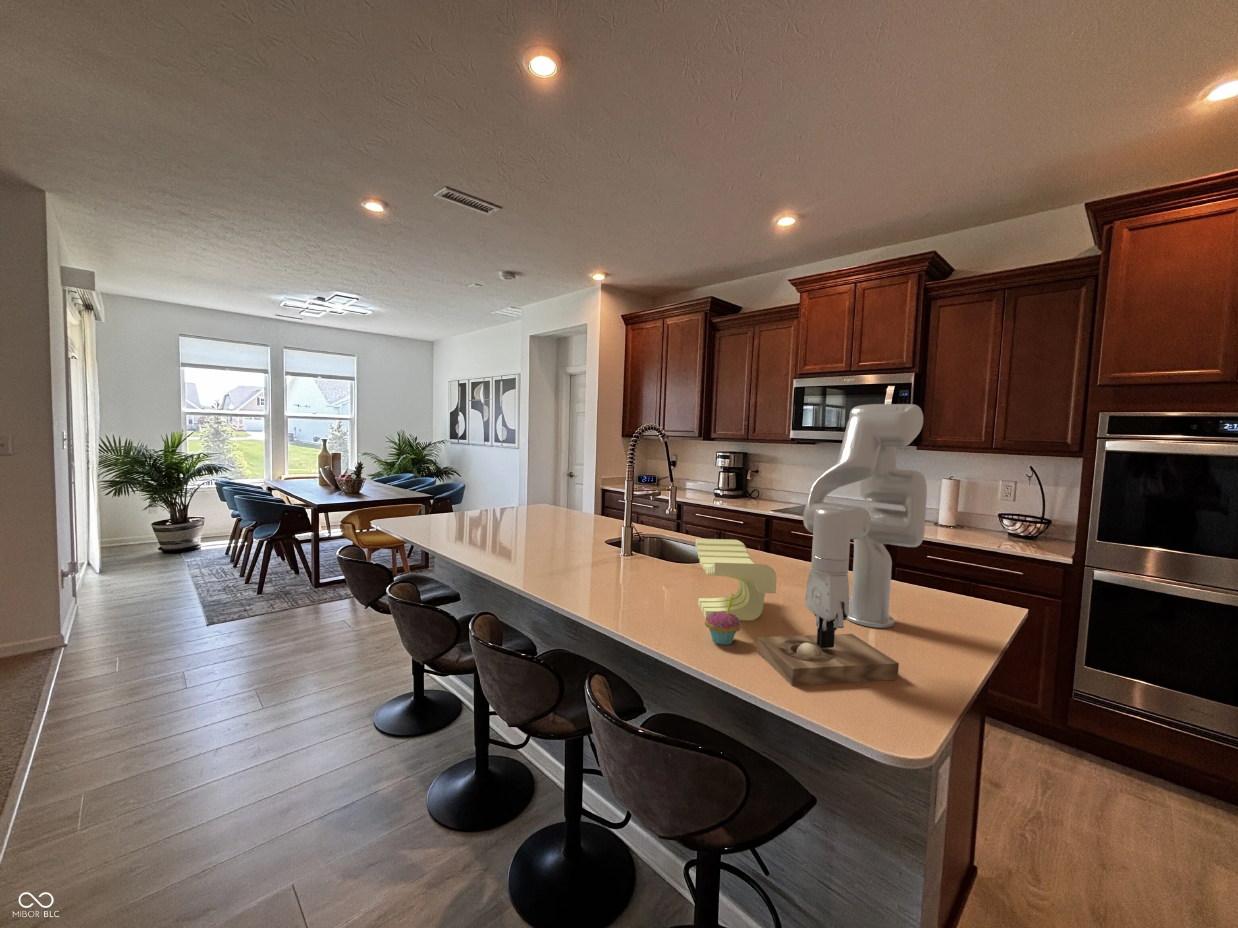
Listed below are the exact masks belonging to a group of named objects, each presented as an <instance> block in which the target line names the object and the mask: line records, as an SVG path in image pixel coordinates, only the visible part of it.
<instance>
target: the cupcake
mask: <svg viewBox="0 0 1238 928" xmlns="http://www.w3.org/2000/svg"><path fill="white" fill-rule="evenodd" d="M732 595H734V593H733V592H732V593H731V595H730V599H729V604H728V609H727V612H726V611H720V612H713V613H711V614H709V615H708V616H707V617H706V618H705V621H704V626H705V627H706V628H708V629H709V633H710V636H711V640H712V642H713V643H716V644H718V645H724V646H726V645H730V644H732V643H733V640H734V638H735V635H736V633H737V632H739V631H740V629H741V627H742V625H741V622H742V620H740V619H739V618H737V617H736V616H735V615H733V614H732V613H730V608H731V603H732V598H733V596H732Z"/></svg>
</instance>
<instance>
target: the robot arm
mask: <svg viewBox="0 0 1238 928" xmlns="http://www.w3.org/2000/svg"><path fill="white" fill-rule="evenodd" d="M848 418H849V419H848V421H847V423H846V428H845V431H844V435H843V438H842V443H841V446H840V450H839V454H838V459H837V462H836V463H835V464H834V465H832V466H831V467H829V468H828V469H826V471H824V472H823V473H822V474H821V475H820V476H819V477H818V478H817V479H816V480H815V481H814V483H813V484H812V486H811V487H810V490H809V493H808V494H807V499H806V502H805V506H804V511H803V517H802V519H803V526H804V527H805V529H806V530H807V531H808V532H810V533H812V548H811V550H812V551H811V566H810V568H809V572H808V576H807V582H806V583H807V584H806V590H805V599H804V600H805V601H804V602H805V603H804V605H805V607H806V608H807V609H808V610H809V611H810V612H811V613H812V614H813V615H814V616H815V623H816V627H817V628H816V629H817V630H816V635H817V645H818V646H820V647H821V648H833V647H834V636H835V634H836V633H835V632H836V631H837V629H844V628H845V625H844V624H845V623H844V621H846V620H847V621H849V622H852V623H854V624H857V625H860V626H864V627H871V628H875V629H877V628H881V629H886V628H891V627H893V626H895V618H894V617H893V616H891V615H889V614H890V613H889V611H890V599H891V597H890V595H891V581H892V567H893V561H892V556H891V554H890V552H889V551H888V550H887V549H886V547H885V545H892V546H899V547H906V548H917V547H919V546H920V545H921V544H922V543H923V541H924V537H925V531H926V530H925V529H926V528H925V527H926V515H927V514H926V512H927V511H926V510H927V497H928V496H927V495H928V492H927V490H928V488H927V487H928V486H927V480H926V476H925V475H924V474H923V473H922V472H920V471H917V470H912V469H898V468H897V456H898V452H897V449H896V448H898V447H899V448H901V447H902V448H904V447H907V446H908V445H910V444H911V443H912V442H913V441H914V440H915V439H916V438H917V436H918V435H919V434H920V432H921V431H922V428H923V426H924V414H923V411H922V408H921V407H920V406H919V405H917V404H913V403H912V404H911V403H910V404H909V403H896V404H895V403H878V404H877V403H874V404H873V403H872V404H861V405H857V406H854V407H853V408H851V410H850V412H849V417H848ZM857 482H860V486H859V489H860V490H859V491H860V496H861V498H863V499H864V500H865V501H867V502H871V503H880V504H885V505H886V504H887V505H896V506H897V505H898V506H902V507H904V510H902V509H901V510H900V509H894V508H885V507H877V506H876V507H875V506H865V507H861V506H858V505H852V504H850V505H849V504H843V503H835V502H826V501H825V499H826V497H828V495H829V494H830V493H832V492H833V491H835V490H837V489H839V488H842V487H844V486H848V485H851V484H855V483H857ZM824 501H825V502H824ZM851 540H853V564H852V577H851V578H852V583H851V596H850V585H849V584H850V583H849V575H848V574H849V564H850V547H851Z"/></svg>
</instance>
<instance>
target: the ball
mask: <svg viewBox="0 0 1238 928" xmlns="http://www.w3.org/2000/svg"><path fill="white" fill-rule="evenodd" d="M796 654H799V655H801V656H807V657H818V656H820V652H819V650H818V648H817V647H816V646H815V645H813V644H811V643H803V644H801V645H800V646H799V647H798V648H797V651H796Z"/></svg>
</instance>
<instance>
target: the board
mask: <svg viewBox="0 0 1238 928" xmlns="http://www.w3.org/2000/svg"><path fill="white" fill-rule="evenodd" d="M803 643H811V644H813V645H815V646H816V647H817V648H818V650H819V652H820V656H818V657H807V656H801V655H799V654H796V651H797V648H798V647H799V646H800V645H801V644H803ZM757 653H758V654H759V655H760V656H761V657H762V658H763V659H764V660H765V661H766V662H767V663H768V664H769V665H770V666H771V667H772V669H774V670H775V671H776V672H778V674H780V676H782V677H783V678H784V680H786V681H787V682H788V683H789V684H790V685H791V686H805V685H807V686H809V685H822V684H842V683H843V684H845V683H859V682H878V681H879V682H880V681H894V680H895V681H896V680H898V679H899V667H900V666H899V665H900V663H899V662H897V661H896V660H894V659H893V658H891V657H890V656H888V655H886V654H884V653H883V652H881V651H880V650H879V649H877V648H875V647H874V646H872V645H870V644H869V643H867V642H866V641H865V640H862V639H861V638H859V637H858V636H856V635H855V634H853V633H835V636H834V647H833V648H821V647H820V646H818V645H817V634H811V635H808V634H807V635H788V636H785V635H784V636H783V635H782V636H762V637H761V636H760V637H757Z"/></svg>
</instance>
